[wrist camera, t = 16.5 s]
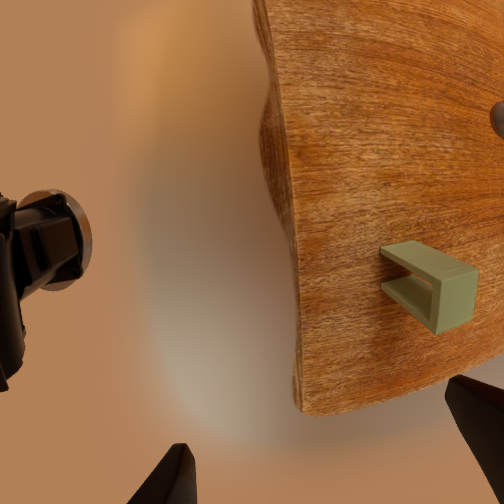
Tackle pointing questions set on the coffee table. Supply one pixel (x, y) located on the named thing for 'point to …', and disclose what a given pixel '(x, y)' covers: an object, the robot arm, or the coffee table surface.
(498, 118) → the rail stand
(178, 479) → the robot arm
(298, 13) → the coffee table surface
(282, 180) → the coffee table surface
